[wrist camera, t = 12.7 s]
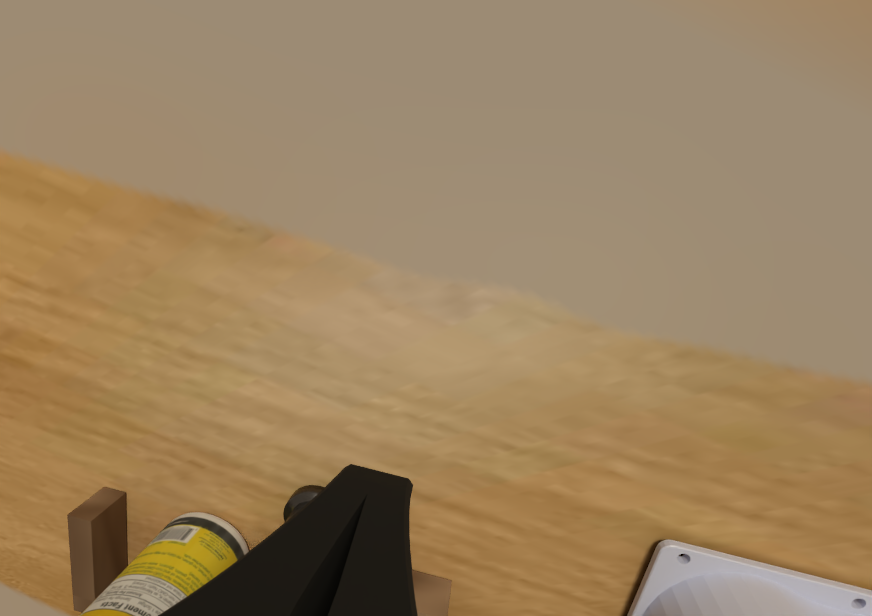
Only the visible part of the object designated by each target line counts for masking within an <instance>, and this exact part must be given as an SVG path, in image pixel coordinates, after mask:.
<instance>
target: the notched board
mask: <svg viewBox="0 0 872 616" xmlns="http://www.w3.org/2000/svg"><path fill="white" fill-rule="evenodd" d="M67 516H68V530H69V545H70V559H71V574H72V588H73V603H74V610H76V611H79V612H83V611H84V610H85V609H86V608H87V607H88V606H89V605H90V604H91V603H92V602H93V601H94V600H95V599H96V598H97V597H98V596H99V595H100V594H101V593H102V592H103V591H104V590H105V589H106V588H107V587H108V586H109V585H110V584H111V583H112V582H113V581H114V580H115V579H116V578H117V577H118V576H119V575H120V574H121V573H122V572H123V571H124V570H125V569H126V567H127V526H126V493H125V492H121V491H118V490H114V489H110V488H107V487H103V488H102V489H101V490H99V491H98V492H97V493H95V494H94V495H93V496H92V497H90V498H89V499H88V500H86V501H85V502H84V503H82V504H81V505H80V506H78V507H77V508H76V509H75V510H73V511H72V512H71V513H69V514H68V515H67ZM412 576H413V585H414V593H415V601H416V607H417V614H418V616H448V608H449V599H450V591H451V582H452V581H451V580H447V579H444V578H440V577H436V576H432V575H429V574H425V573H421V572H418V571H414V570H412Z"/></svg>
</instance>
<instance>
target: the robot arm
mask: <svg viewBox="0 0 872 616" xmlns="http://www.w3.org/2000/svg"><path fill="white" fill-rule="evenodd" d="M412 488H413V484H412V483H411V481H410V480H409V479H408V478H404V477H400V476H396V475H392V474H388V473H384V472H380V471H376V470H372V469H368V468H364V467H360V466H356V465H352V464H350V465H349V466H347V467H345V468H344V469H343V470H342V471H341V472H340V473H339V474H338V475H337V476H336V477H335V478H334V479H333V480H332V481H331V482H330V483H329V484H328V485H327V486H326V487H325V488H324V489H323V490H322V491H320V492H319V493H318V494H317V495H316V496H315V497H314V498H313V499H312V500H311V501H309V502H308V503H307V504H306V505H305V506H304V507H303V508H302V509H300V510H299V511H298V512H297V513H296V514H295V515H293V516H292V517H291V518H290V519H289V520H288V521H286V522H285V523H284V524H283V525H282V526H281V527H279V528H278V529H277V530H276V531H275V532H273V533H272V534H271V535H270V536H268V537H267V538H266V539H265V540H263V541H262V542H261V543H259V544H258V545H257V546H256V547H254V548H253V549H252V550H250V551H249V552H248V553H246V554H245V555H244V556H243V557H241V558H240V559H239V560H237V561H236V562H235V563H233V564H232V565H231V566H230V567H228V568H227V569H226V570H224V571H223V572H221V573H220V574H219V575H217V576H216V577H214V578H213V579H212V580H210V581H209V582H207V583H206V584H205V585H203V586H202V587H200V588H199V589H197V590H196V591H194V592H193V593H192V594H190V595H189V596H187V597H185V598H184V599H182V600H181V601H179V602H178V603H176V604H175V605H173V606H172V607H170V608H169V609H167V610H166V611H164V612H163V613H161V614H160V615H158V616H418V614H417V607H416V601H415V593H414V585H413V576H412V565H411V554H410V538H409V508H410V498H411V493H412ZM680 554H685V555H683V556H679V555H680ZM627 616H872V590H868V589H864V588H860V587H856V586H852V585H848V584H844V583H840V582H836V581H833V580H829V579H825V578H821V577H817V576H813V575H809V574H805V573H801V572H797V571H793V570H789V569H785V568H781V567H777V566H773V565H769V564H765V563H761V562H757V561H753V560H750V559H746V558H742V557H738V556H734V555H730V554H726V553H722V552H718V551H714V550H710V549H706V548H702V547H698V546H694V545H690V544H686V543H682V542H678V541H674V540H663V541H661V542H660V543H659V544H658V545H657V546H656V549H655V551H654V554H653V556H652V558H651V561H650V563H649V565H648V568H647V570H646V572H645V575H644V577H643V579H642V582H641V584H640V587H639V589H638V591H637V594H636V596H635V598H634V601H633V603H632V605H631V608H630V610H629V612H628V615H627Z"/></svg>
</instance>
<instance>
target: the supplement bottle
mask: <svg viewBox="0 0 872 616" xmlns="http://www.w3.org/2000/svg"><path fill="white" fill-rule="evenodd" d="M248 552H249V549H248V546H247V544H246V542H245V540H244V538H243V537H242V535H241V534H240V533H239V532H238V530H237V529H236V528H234V527H233V526H232V525H231V524H229V523H228V522H226V521H225V520H223V519H221V518H219V517H217V516H214V515H211V514H208V513H202V512H191V513H186V514H183V515H181V516H179V517H177V518H175V519H174V520H173V521H171V522H170V523H169V524H168V525H167V526H166V527H165V528H164V529H163V530H162V531H161V532H160V533H159V534H158V535H157V536H156V537H155V538H154V540H153V541H152V542H151V543H150V544H149V545H148V546H147V547H146V548H145V549H144V550H143V551H142V552H141V553H140V554H139V555H138V556H137V557H136V558H135V559H134V560H133V561H132V562H131V563H130V564H129V565H128V566H127V567H126V569H125V570H124V571H123V572H122V573H121V574H120V575H119V576H118V577H117V578H116V579H115V580H114V581H113V582H112V583H111V584H110V585H109V586H108V587H107V588H106V589H105V590H104V591H103V592H102V593H101V594H100V595H99V596H98V597H97V598H96V599H95V600H94V601H93V602H92V603H91V604H90V605H89V606H88V607H87V608H86V609H85V610H84V611H83V612H82V614H81V615H80V616H158V615H160V614H161V613H163V612H164V611H166V610H167V609H169V608H170V607H172V606H173V605H175V604H176V603H178V602H179V601H181V600H182V599H184V598H185V597H187V596H189V595H190V594H192V593H193V592H194V591H196V590H197V589H199V588H200V587H202V586H203V585H205V584H206V583H207V582H209V581H210V580H212V579H213V578H214V577H216V576H217V575H219V574H220V573H221V572H223V571H224V570H226V569H227V568H228V567H230V566H231V565H232V564H233V563H235V562H236V561H237V560H239V559H240V558H241V557H243V556H244V555H245V554H246V553H248Z"/></svg>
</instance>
